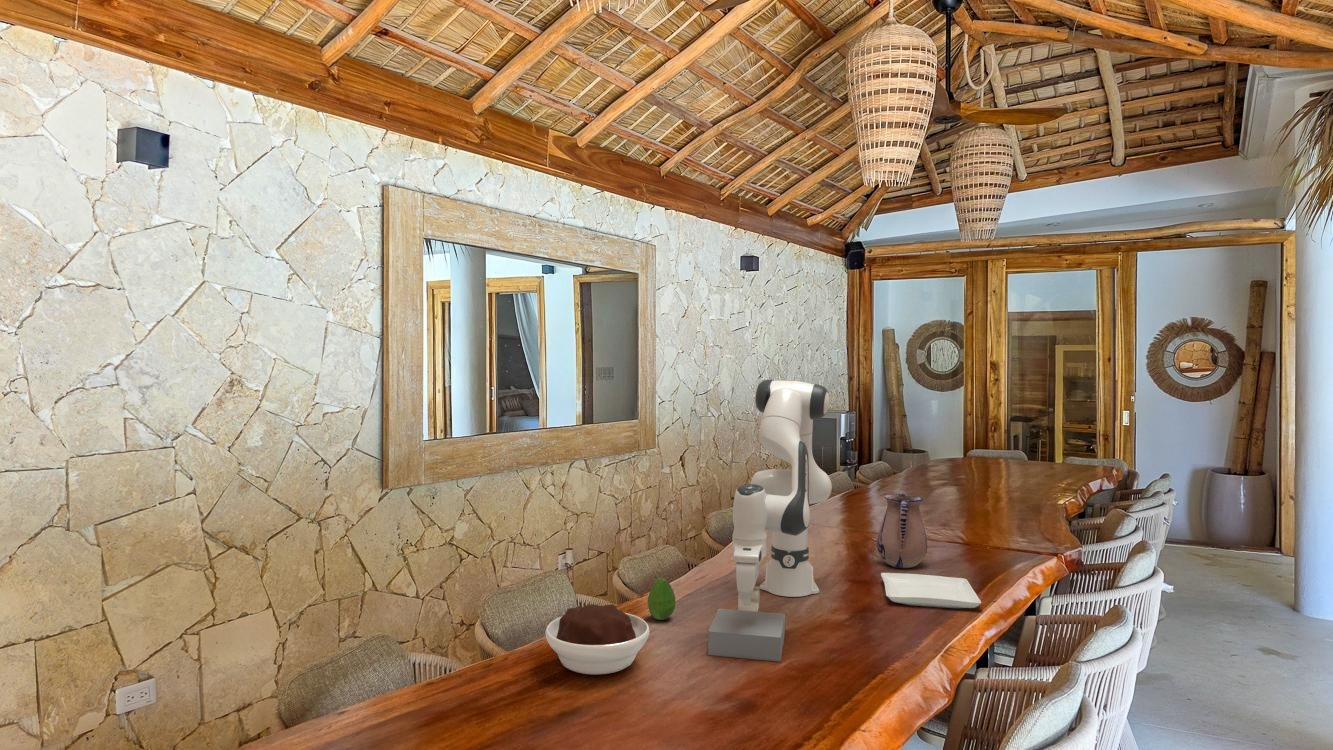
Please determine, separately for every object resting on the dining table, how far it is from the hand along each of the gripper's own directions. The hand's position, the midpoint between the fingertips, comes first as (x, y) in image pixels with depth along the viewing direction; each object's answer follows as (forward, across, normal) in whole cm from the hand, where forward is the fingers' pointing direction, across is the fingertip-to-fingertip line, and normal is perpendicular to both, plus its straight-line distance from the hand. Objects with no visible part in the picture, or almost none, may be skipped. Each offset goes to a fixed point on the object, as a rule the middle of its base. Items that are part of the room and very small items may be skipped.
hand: (748, 601), depth 205 cm
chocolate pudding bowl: (+12, +22, -34) cm, 42 cm away
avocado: (+12, -14, -26) cm, 32 cm away
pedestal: (+12, 0, 0) cm, 12 cm away
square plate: (+12, -55, +51) cm, 76 cm away
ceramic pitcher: (+11, -89, +46) cm, 101 cm away
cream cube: (+2, 0, 0) cm, 2 cm away
